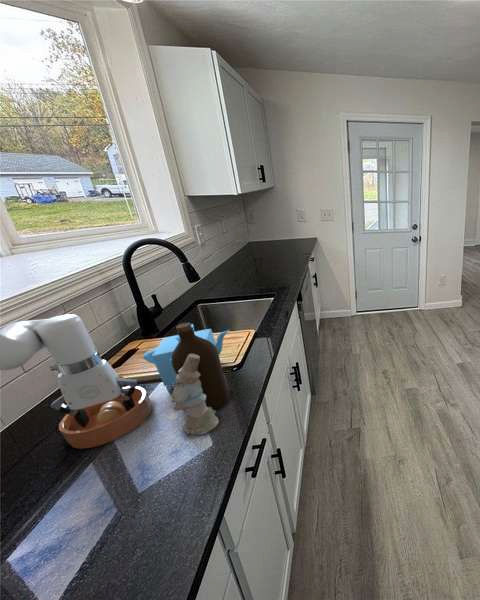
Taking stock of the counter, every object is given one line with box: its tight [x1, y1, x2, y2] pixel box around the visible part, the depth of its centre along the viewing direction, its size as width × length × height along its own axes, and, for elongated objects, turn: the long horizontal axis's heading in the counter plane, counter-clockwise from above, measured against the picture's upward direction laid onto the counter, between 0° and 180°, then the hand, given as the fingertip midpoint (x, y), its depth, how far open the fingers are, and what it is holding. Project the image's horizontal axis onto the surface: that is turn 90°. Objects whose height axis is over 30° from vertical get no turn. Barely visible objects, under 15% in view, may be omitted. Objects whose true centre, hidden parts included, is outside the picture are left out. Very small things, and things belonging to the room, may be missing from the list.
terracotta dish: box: [58, 385, 153, 450], centre depth 84 cm, size 18×18×5 cm
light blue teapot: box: [142, 323, 231, 387], centre depth 101 cm, size 19×19×15 cm
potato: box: [96, 401, 123, 426], centre depth 84 cm, size 8×5×5 cm, turn 28°
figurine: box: [170, 354, 220, 436], centre depth 78 cm, size 9×8×20 cm
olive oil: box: [171, 322, 231, 411], centre depth 85 cm, size 11×11×25 cm
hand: (109, 416), depth 84 cm, fingers open, 9 cm apart
